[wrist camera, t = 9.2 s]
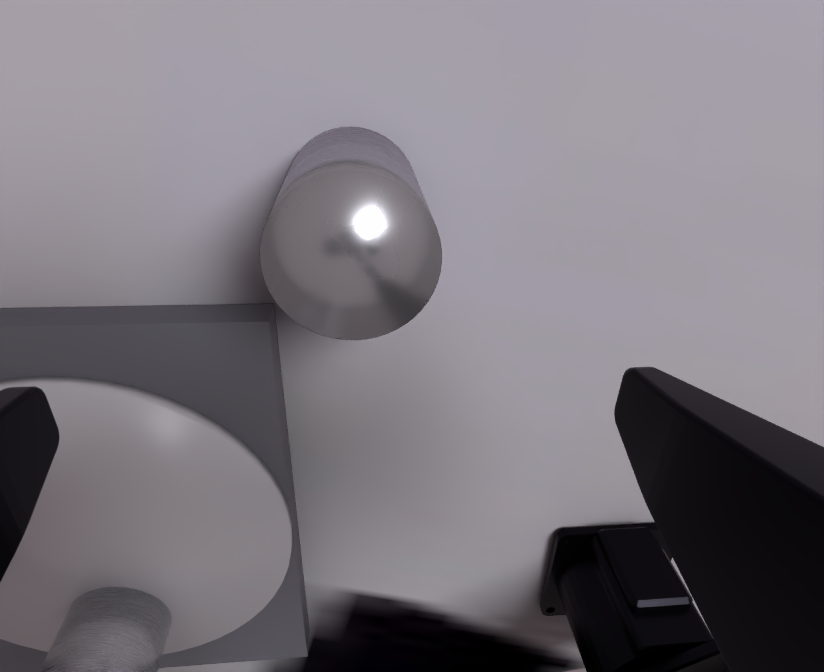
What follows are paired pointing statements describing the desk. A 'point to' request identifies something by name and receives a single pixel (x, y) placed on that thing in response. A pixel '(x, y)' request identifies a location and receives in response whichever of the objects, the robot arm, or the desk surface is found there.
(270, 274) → the cylinder
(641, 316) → the desk surface
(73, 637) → the cylinder
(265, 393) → the scale
